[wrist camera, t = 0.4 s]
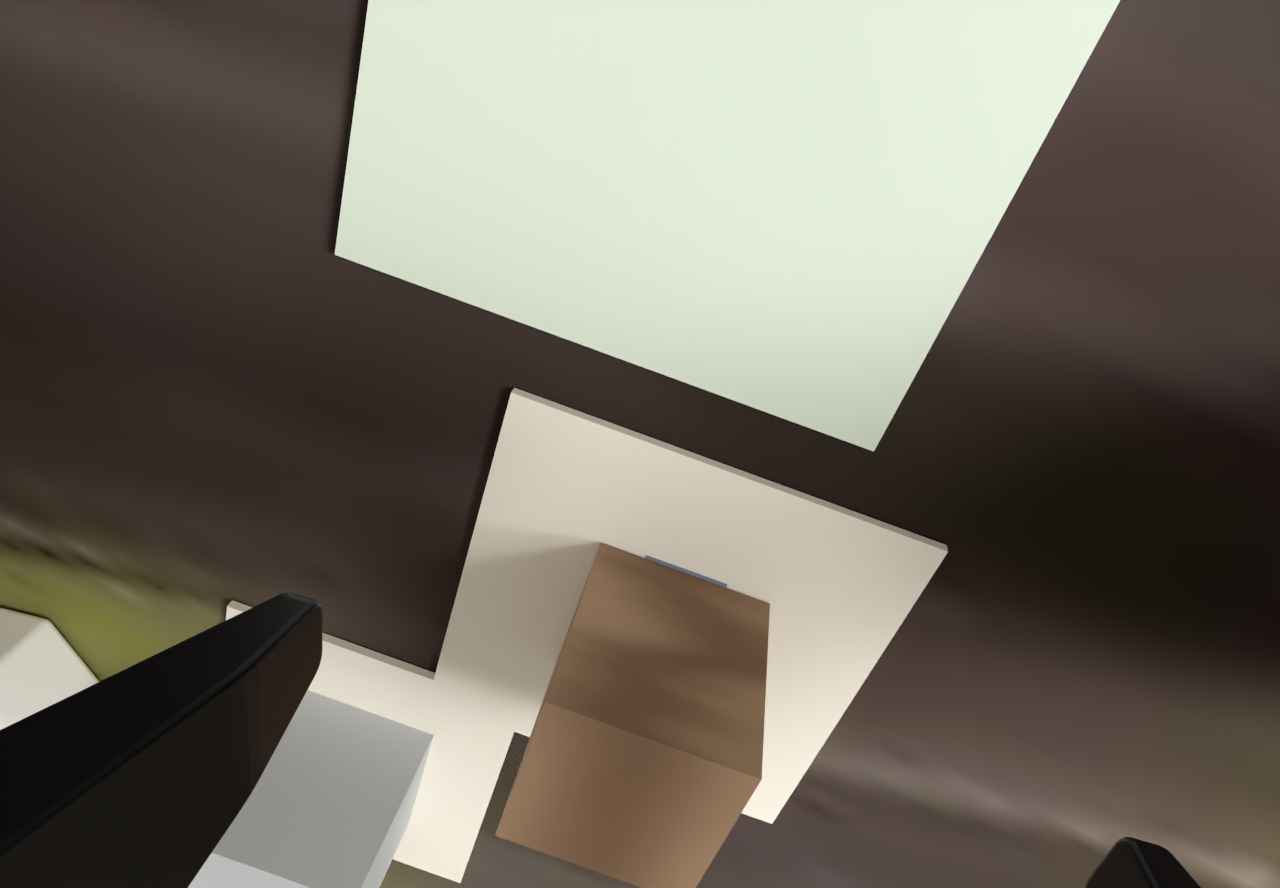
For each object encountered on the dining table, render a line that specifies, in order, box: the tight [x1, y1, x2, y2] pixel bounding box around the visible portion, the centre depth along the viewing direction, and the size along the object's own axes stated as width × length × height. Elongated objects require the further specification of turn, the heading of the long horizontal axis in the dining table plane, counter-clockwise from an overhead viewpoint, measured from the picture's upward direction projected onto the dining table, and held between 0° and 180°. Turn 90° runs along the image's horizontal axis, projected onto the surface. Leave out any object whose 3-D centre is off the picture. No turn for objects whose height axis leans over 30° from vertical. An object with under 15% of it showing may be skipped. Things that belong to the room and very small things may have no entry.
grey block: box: [188, 690, 434, 888], centre depth 27 cm, size 5×5×6 cm
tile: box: [226, 600, 521, 883], centre depth 30 cm, size 10×10×1 cm
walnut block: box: [495, 543, 770, 888], centre depth 23 cm, size 5×5×6 cm
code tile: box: [434, 388, 948, 824], centre depth 25 cm, size 12×12×1 cm
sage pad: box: [335, 0, 1120, 452], centre depth 18 cm, size 14×14×1 cm
